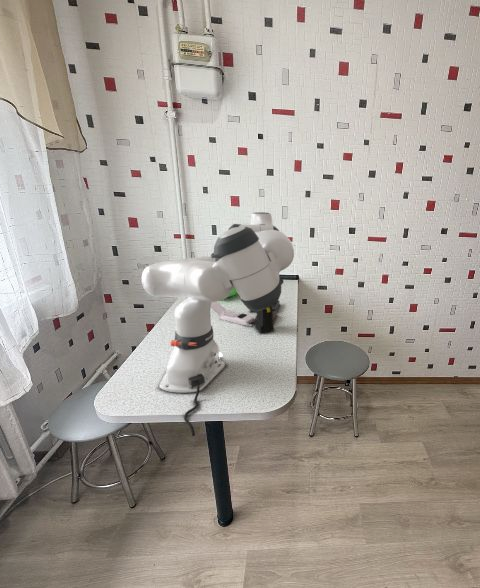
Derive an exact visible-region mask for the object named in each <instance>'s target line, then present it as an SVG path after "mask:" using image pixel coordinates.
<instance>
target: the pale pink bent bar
mask: <svg viewBox="0 0 480 588" xmlns="http://www.w3.org/2000/svg"><path fill="white" fill-rule="evenodd" d="M210 310H212V311H213V312H214V313H215V314H217V316H219V318H220V320H223V321H225V322H230V323H233V324H237V325H241V326H247V327H253V326H254V325H253V324H252V323H253V322H254V319H255V317H254V316H253V315H250V314H248V313H243V312H242V313H241V312H237V311H233V310H229V309H226V308H225V307H224V306H223V305H221V304H220V303H219V301H218V302H212V303H211V309H210Z"/></svg>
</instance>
